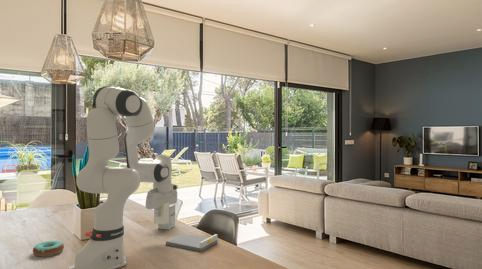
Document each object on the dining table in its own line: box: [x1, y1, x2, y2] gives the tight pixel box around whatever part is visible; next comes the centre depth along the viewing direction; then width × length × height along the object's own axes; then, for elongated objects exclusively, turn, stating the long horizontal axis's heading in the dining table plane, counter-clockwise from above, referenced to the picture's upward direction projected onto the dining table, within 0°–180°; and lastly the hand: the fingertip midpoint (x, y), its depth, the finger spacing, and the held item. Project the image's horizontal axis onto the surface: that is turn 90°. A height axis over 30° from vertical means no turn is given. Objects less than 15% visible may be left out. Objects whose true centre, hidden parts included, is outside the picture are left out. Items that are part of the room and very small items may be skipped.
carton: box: [153, 202, 169, 225], centre depth 166 cm, size 6×4×10 cm
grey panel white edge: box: [165, 233, 218, 252], centre depth 162 cm, size 14×20×4 cm
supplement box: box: [157, 203, 176, 230], centre depth 188 cm, size 7×7×13 cm
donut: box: [32, 240, 65, 258], centre depth 148 cm, size 12×12×4 cm
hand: (161, 215), depth 166 cm, fingers closed on carton, 4 cm apart
